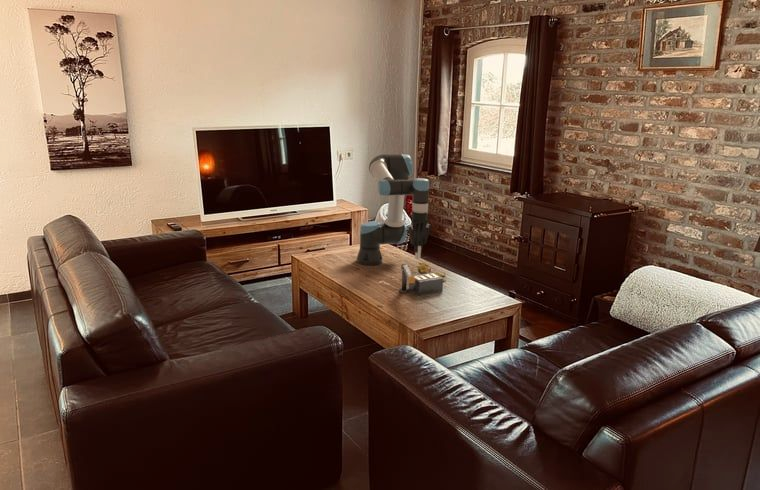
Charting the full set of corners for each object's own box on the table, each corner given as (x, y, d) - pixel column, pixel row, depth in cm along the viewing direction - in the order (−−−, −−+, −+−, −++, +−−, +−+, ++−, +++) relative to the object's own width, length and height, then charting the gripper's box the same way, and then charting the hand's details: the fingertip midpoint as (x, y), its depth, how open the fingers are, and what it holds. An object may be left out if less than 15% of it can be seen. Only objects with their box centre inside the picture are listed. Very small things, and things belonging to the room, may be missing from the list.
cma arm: (407, 268, 293) (407, 263, 293) (416, 283, 272) (416, 278, 271) (400, 268, 293) (400, 263, 292) (408, 283, 271) (408, 278, 271)
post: (397, 290, 296) (397, 269, 293) (405, 289, 298) (406, 268, 295) (402, 293, 291) (402, 272, 288) (410, 292, 294) (411, 271, 291)
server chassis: (408, 289, 298) (409, 275, 296) (431, 285, 305) (432, 271, 302) (418, 295, 290) (419, 281, 288) (442, 291, 296) (443, 277, 294)
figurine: (445, 281, 310) (427, 260, 308) (432, 291, 312) (414, 271, 310) (445, 274, 321) (428, 253, 320) (432, 284, 324) (415, 264, 322)
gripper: (427, 208, 284) (425, 254, 291) (404, 210, 278) (402, 257, 285) (435, 211, 278) (433, 259, 284) (412, 214, 272) (409, 262, 278)
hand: (417, 258), depth 284 cm, fingers closed
